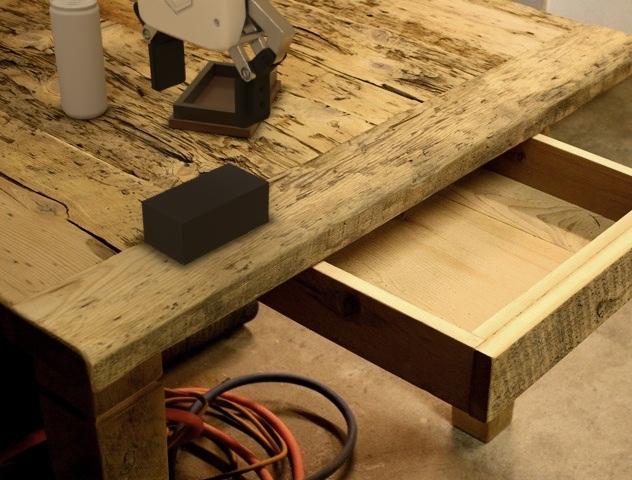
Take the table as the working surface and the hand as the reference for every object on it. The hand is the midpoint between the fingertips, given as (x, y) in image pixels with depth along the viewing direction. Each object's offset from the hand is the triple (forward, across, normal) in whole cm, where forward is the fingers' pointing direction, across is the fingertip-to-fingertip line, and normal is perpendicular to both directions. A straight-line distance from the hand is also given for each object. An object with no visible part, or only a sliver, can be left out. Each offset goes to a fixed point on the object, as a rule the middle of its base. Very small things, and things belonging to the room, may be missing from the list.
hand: (209, 103), depth 74 cm
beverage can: (+12, -27, +7) cm, 30 cm away
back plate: (+12, -18, +19) cm, 29 cm away
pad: (+12, 0, -1) cm, 12 cm away
